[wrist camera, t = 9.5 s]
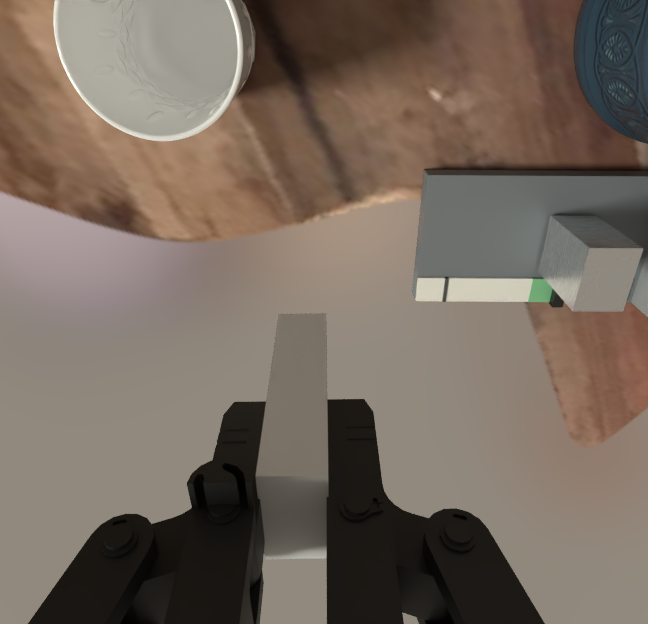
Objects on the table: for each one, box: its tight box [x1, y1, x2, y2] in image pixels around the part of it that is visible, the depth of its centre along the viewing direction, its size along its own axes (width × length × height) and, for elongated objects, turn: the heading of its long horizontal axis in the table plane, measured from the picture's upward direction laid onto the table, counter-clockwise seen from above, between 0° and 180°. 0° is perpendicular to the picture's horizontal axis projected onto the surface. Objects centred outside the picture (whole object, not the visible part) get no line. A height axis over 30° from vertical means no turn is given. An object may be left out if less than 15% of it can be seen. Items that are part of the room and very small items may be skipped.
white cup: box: [53, 0, 256, 141], centre depth 26 cm, size 8×8×10 cm
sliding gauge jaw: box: [538, 216, 643, 311], centre depth 33 cm, size 3×6×6 cm, turn 0°
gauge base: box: [412, 170, 648, 317], centre depth 33 cm, size 18×9×8 cm, turn 90°
